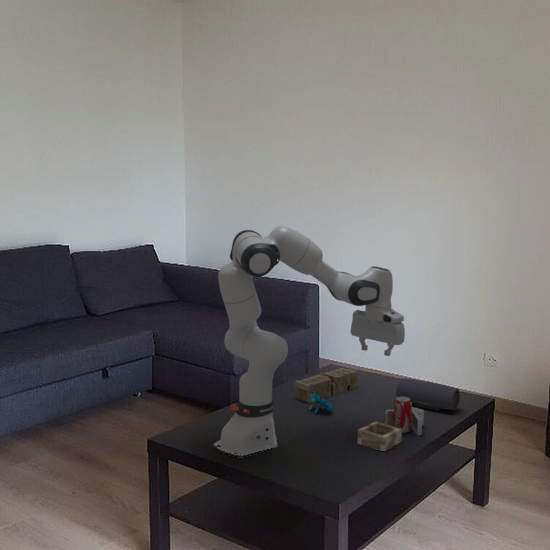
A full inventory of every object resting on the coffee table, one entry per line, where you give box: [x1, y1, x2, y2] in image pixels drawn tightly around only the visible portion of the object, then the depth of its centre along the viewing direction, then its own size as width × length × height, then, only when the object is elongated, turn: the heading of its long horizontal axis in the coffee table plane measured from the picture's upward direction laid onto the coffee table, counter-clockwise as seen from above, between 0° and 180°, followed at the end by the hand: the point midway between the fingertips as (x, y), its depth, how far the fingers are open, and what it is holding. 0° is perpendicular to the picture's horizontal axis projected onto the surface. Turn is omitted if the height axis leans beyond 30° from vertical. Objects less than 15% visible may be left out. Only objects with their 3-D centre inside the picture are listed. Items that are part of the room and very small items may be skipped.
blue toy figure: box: [308, 394, 334, 415], centre depth 275 cm, size 11×6×10 cm
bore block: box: [357, 420, 403, 452], centre depth 246 cm, size 11×11×5 cm
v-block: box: [384, 406, 425, 436], centre depth 259 cm, size 10×15×6 cm, turn 48°
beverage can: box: [393, 396, 413, 434], centre depth 256 cm, size 6×6×12 cm
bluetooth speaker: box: [395, 377, 461, 411], centre depth 280 cm, size 23×9×10 cm, turn 57°
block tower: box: [294, 367, 358, 404], centre depth 296 cm, size 8×8×29 cm
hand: (375, 352), depth 252 cm, fingers open, 8 cm apart
